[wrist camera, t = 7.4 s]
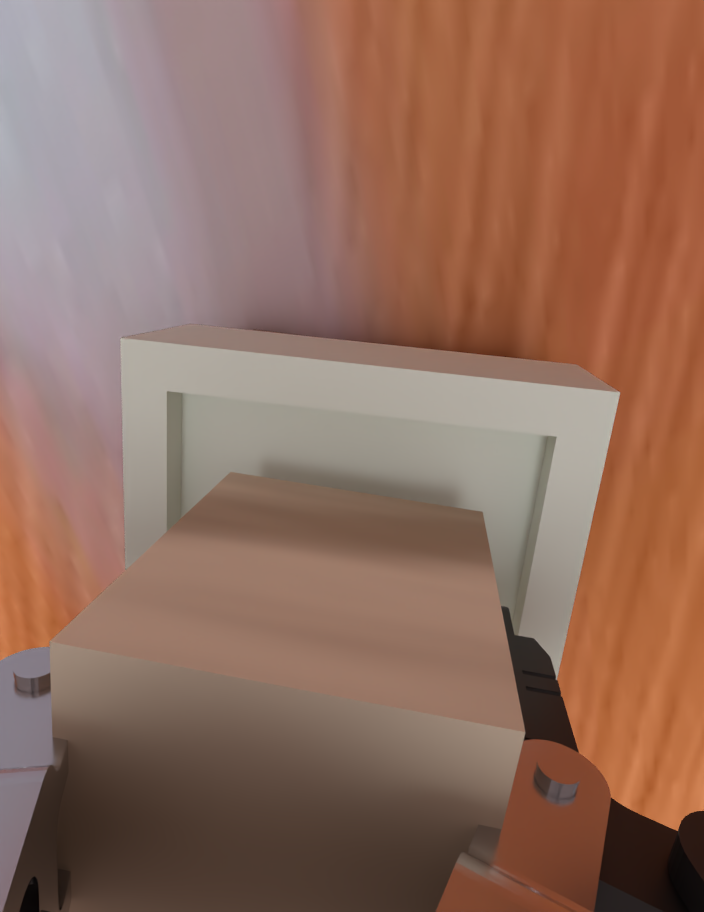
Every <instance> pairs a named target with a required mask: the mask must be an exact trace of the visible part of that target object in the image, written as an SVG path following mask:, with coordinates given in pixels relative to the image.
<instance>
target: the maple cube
mask: <svg viewBox="0 0 704 912" xmlns="http://www.w3.org/2000/svg"><path fill="white" fill-rule="evenodd" d="M50 675H51V708H52V737H55V738H60V739H65V740H68V766H69V773H68V777H67V780H66V784H65V788H64V792H63V796H62V800H61V805H60V810H59V817H58V826H57V868H58V869H63V870H67V871H71V904H70V908H69V912H436V910H437V907H438V905H439V903H440V900H441V898H442V895H443V893H444V890H445V888H446V886H447V883H448V881H449V878H450V876H451V873H452V871H453V869H454V866H455V864H456V862H457V859H458V857H459V856H460V854H461V852H462V851H464V852H466V853H467V852H468V849H469V847H470V845H471V842H472V839H473V837H474V834H475V832H476V829H477V827H478V824H479V825H484V826H488V827H493V828H498V829H502V826H503V822H504V818H505V814H506V810H507V806H508V801H509V797H510V793H511V789H512V785H513V781H514V777H515V773H516V769H517V765H518V760H519V756H520V752H521V748H522V744H523V740H524V736H525V728H524V723H523V717H522V712H521V707H520V702H519V697H518V692H517V686H516V681H515V676H514V671H513V666H512V661H511V655H510V650H509V645H508V640H507V635H506V630H505V624H504V619H503V614H502V609H501V604H500V599H499V594H498V588H497V583H496V578H495V573H494V568H493V563H492V557H491V552H490V547H489V542H488V537H487V532H486V526H485V521H484V516H483V512H481V511H475V510H469V509H462V508H456V507H450V506H443V505H437V504H431V503H424V502H418V501H412V500H406V499H399V498H393V497H387V496H380V495H374V494H368V493H361V492H355V491H349V490H342V489H336V488H330V487H323V486H317V485H311V484H304V483H298V482H292V481H285V480H279V479H273V478H267V477H260V476H254V475H248V474H241V473H235V472H230V473H229V474H228V475H227V476H226V477H225V478H223V479H222V480H221V481H220V482H219V483H218V484H217V485H216V486H215V487H214V488H213V489H212V490H211V491H210V492H209V493H207V494H206V495H205V496H204V497H203V498H202V499H201V500H200V501H199V502H198V503H197V504H196V505H195V506H194V507H193V508H191V509H190V510H189V511H188V512H187V513H186V514H185V515H184V516H183V517H182V518H181V519H180V520H179V521H178V522H177V523H175V524H174V525H173V526H172V527H171V528H170V529H169V530H168V531H167V532H166V533H165V534H164V535H163V536H162V537H161V538H159V539H158V540H157V541H156V542H155V543H154V544H153V545H152V546H151V547H150V548H149V549H148V550H147V551H146V552H145V553H144V554H142V555H141V556H140V557H139V558H138V559H137V560H136V561H135V562H134V563H133V564H132V565H131V566H130V567H129V568H128V569H126V570H125V571H124V572H123V573H122V574H121V575H120V576H119V577H118V578H117V579H116V580H115V581H114V582H113V583H112V584H110V585H109V586H108V587H107V588H106V589H105V590H104V591H103V592H102V593H101V594H100V595H99V596H98V597H97V598H96V599H94V600H93V601H92V602H91V603H90V604H89V605H88V606H87V607H86V608H85V609H84V610H83V611H82V612H81V613H80V614H78V615H77V616H76V617H75V618H74V619H73V620H72V621H71V622H70V623H69V624H68V625H67V626H66V627H65V628H64V629H62V630H61V631H60V632H59V633H58V634H57V635H56V636H55V637H54V638H53V639H52V640H51V641H50Z"/></svg>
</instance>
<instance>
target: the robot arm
mask: <svg viewBox="0 0 704 912" xmlns="http://www.w3.org/2000/svg"><path fill="white" fill-rule="evenodd" d="M501 609H502V614H503V619H504V624H505V630H506V635H507V640H508V645H509V650H510V655H511V661H512V666H513V671H514V676H515V681H516V686H517V692H518V697H519V702H520V707H521V712H522V717H523V723H524V728H525V736H524V740H523V744H522V748H521V752H520V756H519V760H518V765H517V769H516V773H515V777H514V781H513V785H512V789H511V793H510V797H509V801H508V806H507V810H506V814H505V818H504V822H503V826H502V829H498V828H493V827H488V826H484V825H479V824H478V827H477V829H476V832H475V834H474V837H473V839H472V842H471V845H470V847H469V849H468V852H467V853H466V852H464V851H462V852H461V854H460V856H459V857H458V859H457V862H456V864H455V866H454V869H453V871H452V873H451V876H450V878H449V881H448V883H447V886H446V888H445V890H444V893H443V895H442V898H441V900H440V903H439V905H438V907H437V910H436V912H704V811H697V812H693V813H690V814H689V815H687V816H686V817H685V818H684V819H683V820H682V821H681V824H680V827H679V829H678V831H676V830H673V829H671V828H669V827H667V826H664V825H662V824H660V823H658V822H655V821H653V820H651V819H649V818H646V817H644V816H642V815H640V814H638V813H636V812H634V811H632V810H630V809H628V808H626V807H624V806H623V805H621V804H619V803H618V802H616V801H615V800H614V799H612V798H611V794H610V790H609V786H608V784H607V782H606V780H605V778H604V777H603V775H602V774H601V772H600V771H599V770H598V769H597V768H596V767H595V766H594V765H593V764H592V763H591V762H590V761H589V760H588V759H586V758H585V757H584V756H583V755H581V754H579V752H578V749H577V745H576V742H575V738H574V735H573V732H572V728H571V725H570V722H569V718H568V715H567V711H566V708H565V705H564V701H563V698H562V697H561V691H560V688H559V684H558V681H557V680H556V674H555V671H554V668H553V664H552V661H551V657H550V656H549V655H548V654H547V652H546V651H545V650H544V649H543V648H542V647H541V646H540V645H539V643H538V642H537V641H536V640H535V639H534V638H530V637H524V636H518V635H514V630H513V625H512V621H511V616H510V611H509V608H508V607H505V606H501ZM68 773H69V766H68V740H65V739H60V738H55V737H52V708H51V675H50V647H41V648H34V649H29V650H25V651H21V652H18V653H15V654H13V655H10V656H8V657H6V658H4V659H3V660H1V661H0V912H69V908H70V904H71V871H67V870H63V869H58V868H57V826H58V817H59V810H60V805H61V800H62V796H63V792H64V788H65V784H66V780H67V777H68Z"/></svg>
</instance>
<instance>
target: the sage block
mask: <svg viewBox="0 0 704 912" xmlns="http://www.w3.org/2000/svg"><path fill="white" fill-rule="evenodd" d="M120 348H121V394H122V439H123V485H124V530H125V570H126V569H128V568H129V567H130V566H131V565H132V564H133V563H134V562H135V561H136V560H137V559H138V558H139V557H140V556H141V555H142V554H144V553H145V552H146V551H147V550H148V549H149V548H150V547H151V546H152V545H153V544H154V543H155V542H156V541H157V540H158V539H159V538H161V537H162V536H163V535H164V534H165V533H166V532H167V531H168V530H169V529H170V528H171V527H172V526H173V525H174V524H175V523H177V522H178V521H179V520H180V519H181V518H182V517H183V516H184V515H185V514H186V513H187V512H188V511H189V510H190V509H191V508H193V507H194V506H195V505H196V504H197V503H198V502H199V501H200V500H201V499H202V498H203V497H204V496H205V495H206V494H207V493H209V492H210V491H211V490H212V489H213V488H214V487H215V486H216V485H217V484H218V483H219V482H220V481H221V480H222V479H223V478H225V477H226V476H227V475H228V474H229V473H230V472H235V473H241V474H248V475H254V476H260V477H267V478H273V479H279V480H285V481H292V482H298V483H304V484H311V485H317V486H323V487H330V488H336V489H342V490H349V491H355V492H361V493H368V494H374V495H380V496H387V497H393V498H399V499H406V500H412V501H418V502H424V503H431V504H437V505H443V506H450V507H456V508H462V509H469V510H475V511H481V512H483V516H484V521H485V526H486V532H487V537H488V542H489V547H490V552H491V557H492V563H493V568H494V573H495V578H496V583H497V588H498V594H499V599H500V604H501V606H505V607H508V608H509V611H510V616H511V621H512V625H513V630H514V635H518V636H524V637H530V638H534V639H535V640H536V641H537V642H538V643H539V645H540V646H541V647H542V648H543V649H544V650H545V651H546V652H547V654H548V655H549V656H550V657H551V661H552V664H553V668H554V671H555V674H556V680H557V677H558V672H559V668H560V663H561V659H562V654H563V650H564V645H565V640H566V636H567V631H568V627H569V622H570V618H571V613H572V609H573V604H574V600H575V595H576V591H577V586H578V582H579V577H580V573H581V568H582V564H583V559H584V554H585V550H586V545H587V541H588V536H589V532H590V527H591V523H592V518H593V514H594V509H595V505H596V500H597V496H598V491H599V487H600V482H601V478H602V473H603V469H604V464H605V459H606V455H607V450H608V446H609V441H610V437H611V432H612V428H613V423H614V419H615V414H616V410H617V405H618V401H619V396H620V392H619V391H617V390H616V389H614V388H613V387H611V386H609V385H608V384H606V383H605V382H603V381H602V380H600V379H599V378H597V377H595V376H594V375H592V374H591V373H589V372H588V371H586V370H585V369H583V368H581V367H580V366H578V365H576V364H567V363H557V362H548V361H539V360H529V359H520V358H510V357H501V356H491V355H482V354H472V353H463V352H453V351H444V350H434V349H425V348H415V347H406V346H396V345H387V344H377V343H368V342H358V341H349V340H339V339H330V338H320V337H311V336H301V335H292V334H282V333H273V332H263V331H254V330H244V329H235V328H225V327H216V326H207V325H197V324H187V325H182V326H177V327H172V328H167V329H162V330H157V331H152V332H147V333H142V334H137V335H132V336H127V337H122V338H120Z"/></svg>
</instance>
